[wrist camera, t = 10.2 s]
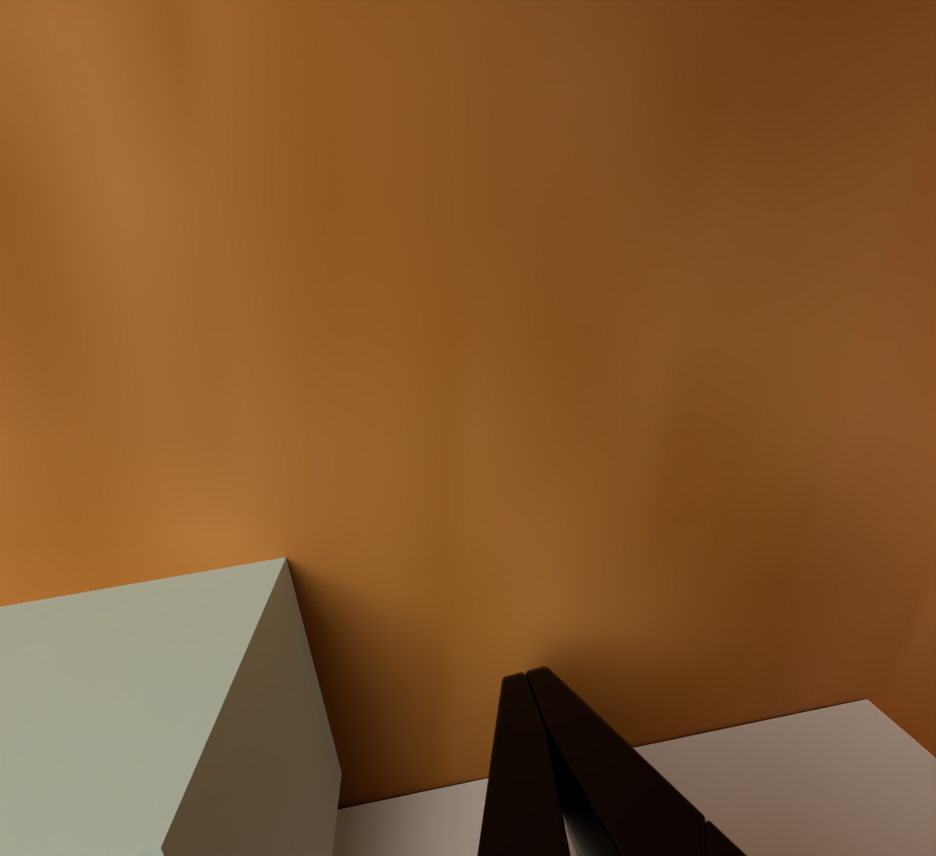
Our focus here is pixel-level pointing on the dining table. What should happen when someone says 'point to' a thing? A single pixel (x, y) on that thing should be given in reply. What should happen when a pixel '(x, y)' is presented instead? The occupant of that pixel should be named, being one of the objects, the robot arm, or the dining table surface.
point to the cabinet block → (165, 722)
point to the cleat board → (725, 792)
